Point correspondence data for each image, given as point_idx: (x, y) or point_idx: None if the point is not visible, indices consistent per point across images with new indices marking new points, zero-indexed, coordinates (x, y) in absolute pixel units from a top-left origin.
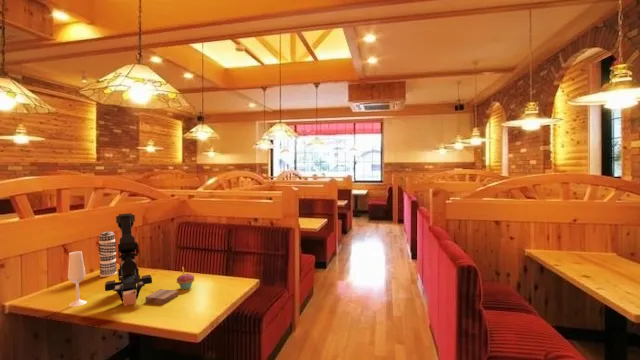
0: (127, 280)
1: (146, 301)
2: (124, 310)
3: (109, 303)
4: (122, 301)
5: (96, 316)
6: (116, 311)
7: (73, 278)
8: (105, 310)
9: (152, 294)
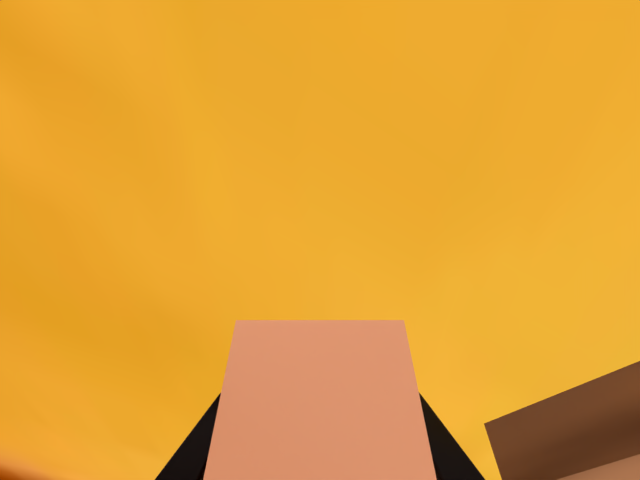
0: None
1: (493, 438)
2: None
3: (20, 274)
4: None
5: (49, 476)
6: None
7: None
8: (77, 422)
9: (617, 474)
